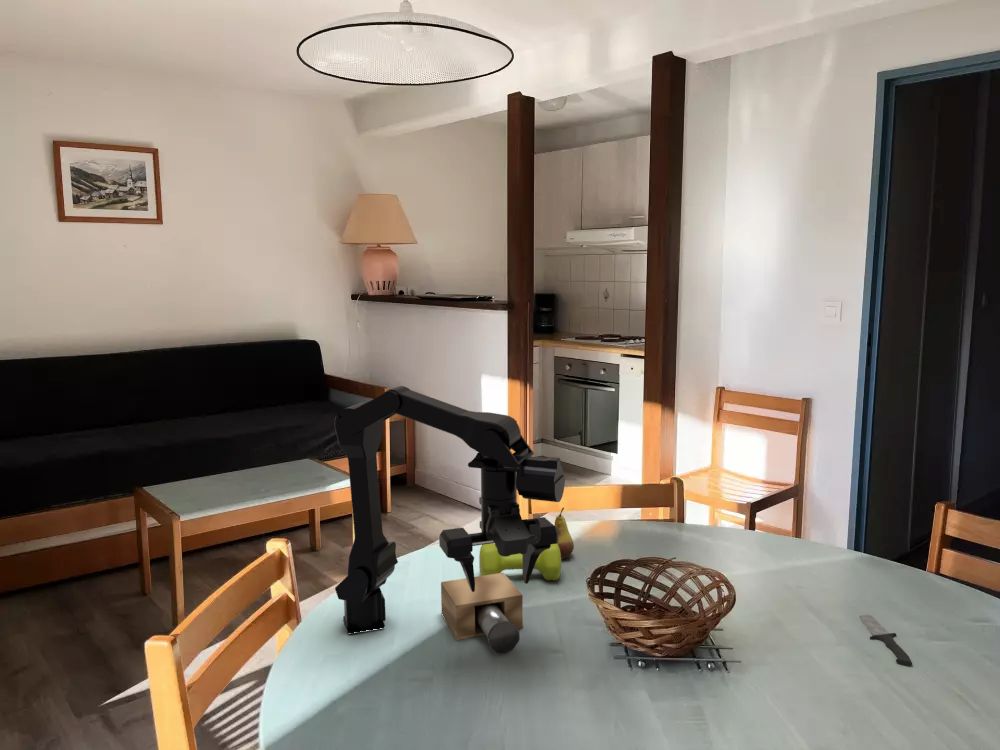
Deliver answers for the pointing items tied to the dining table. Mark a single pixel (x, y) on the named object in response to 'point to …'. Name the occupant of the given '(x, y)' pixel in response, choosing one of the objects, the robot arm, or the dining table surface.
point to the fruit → (563, 536)
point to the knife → (885, 639)
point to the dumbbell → (519, 561)
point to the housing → (479, 603)
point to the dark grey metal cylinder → (497, 628)
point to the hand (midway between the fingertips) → (499, 586)
